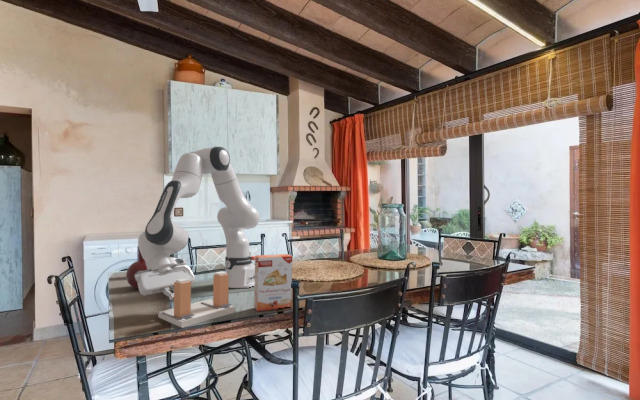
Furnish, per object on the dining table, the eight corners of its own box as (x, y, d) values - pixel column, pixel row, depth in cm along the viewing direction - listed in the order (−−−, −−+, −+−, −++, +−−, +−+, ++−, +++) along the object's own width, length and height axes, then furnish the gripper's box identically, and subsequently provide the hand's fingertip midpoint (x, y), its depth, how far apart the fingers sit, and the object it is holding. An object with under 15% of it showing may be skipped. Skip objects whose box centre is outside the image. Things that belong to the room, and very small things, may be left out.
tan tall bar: (222, 303, 143) (222, 271, 143) (228, 305, 140) (228, 272, 140) (213, 305, 140) (213, 272, 139) (219, 308, 137) (219, 274, 137)
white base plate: (210, 303, 149) (210, 296, 149) (235, 312, 139) (235, 304, 139) (158, 317, 132) (158, 309, 132) (182, 327, 122) (182, 318, 122)
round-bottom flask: (137, 293, 163) (137, 249, 163) (119, 289, 170) (120, 246, 169) (163, 287, 175) (163, 245, 174) (145, 283, 181) (145, 243, 181)
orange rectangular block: (184, 313, 130) (184, 277, 130) (190, 316, 128) (190, 279, 128) (173, 316, 127) (174, 279, 127) (180, 319, 125) (180, 281, 125)
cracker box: (257, 312, 139) (258, 257, 139) (253, 307, 145) (254, 255, 144) (292, 308, 145) (292, 255, 145) (287, 303, 150) (288, 253, 150)
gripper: (135, 266, 127) (149, 299, 121) (188, 258, 143) (203, 287, 137) (129, 277, 130) (143, 310, 124) (182, 268, 146) (196, 297, 140)
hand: (175, 298), depth 131 cm, fingers closed
